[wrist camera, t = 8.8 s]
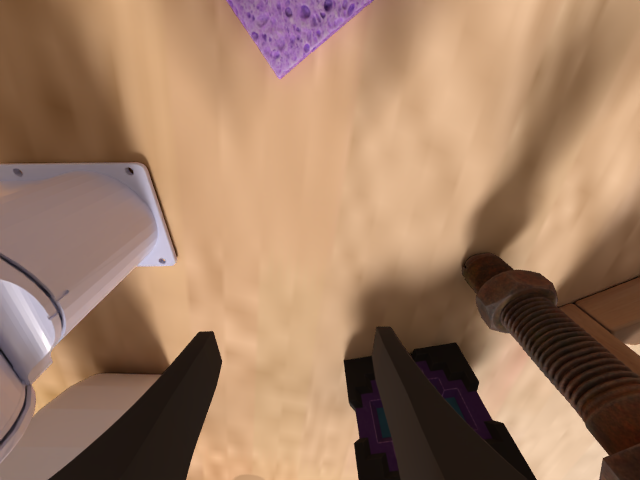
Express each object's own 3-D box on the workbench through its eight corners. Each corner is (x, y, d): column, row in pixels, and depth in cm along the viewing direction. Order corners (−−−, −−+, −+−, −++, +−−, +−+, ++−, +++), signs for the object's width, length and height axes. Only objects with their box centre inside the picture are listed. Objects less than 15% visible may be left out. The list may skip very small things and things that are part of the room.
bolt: (487, 225, 20) (813, 463, 7) (524, 255, 22) (850, 496, 9) (432, 275, 22) (604, 525, 9) (470, 298, 24) (663, 543, 11)
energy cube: (343, 359, 28) (363, 518, 17) (455, 342, 27) (547, 497, 17) (357, 416, 34) (378, 560, 23) (450, 403, 33) (515, 546, 22)
